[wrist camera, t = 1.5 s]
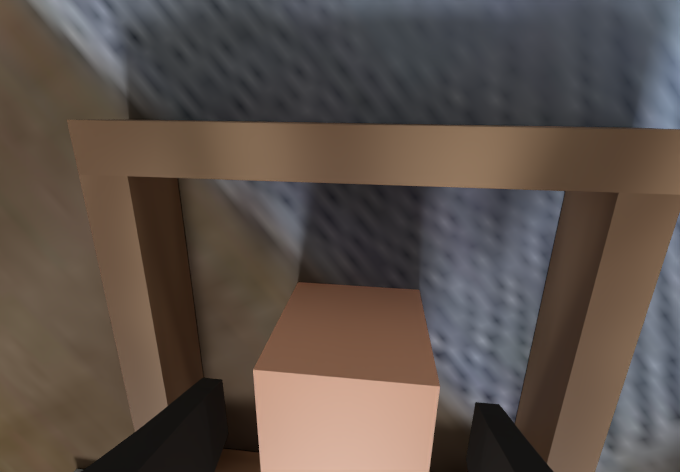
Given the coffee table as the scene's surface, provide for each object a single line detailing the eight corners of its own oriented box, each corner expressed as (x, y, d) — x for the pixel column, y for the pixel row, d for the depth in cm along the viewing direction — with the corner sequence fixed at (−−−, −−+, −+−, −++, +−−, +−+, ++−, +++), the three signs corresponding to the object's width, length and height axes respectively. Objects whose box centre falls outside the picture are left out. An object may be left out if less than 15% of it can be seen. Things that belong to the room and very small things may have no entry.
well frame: (633, 127, 10) (706, 130, 8) (532, 509, 16) (560, 579, 13) (128, 119, 12) (66, 119, 10) (185, 467, 17) (155, 523, 15)
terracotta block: (418, 288, 13) (439, 386, 8) (409, 388, 14) (422, 520, 10) (298, 281, 13) (253, 369, 9) (300, 378, 15) (263, 499, 10)
